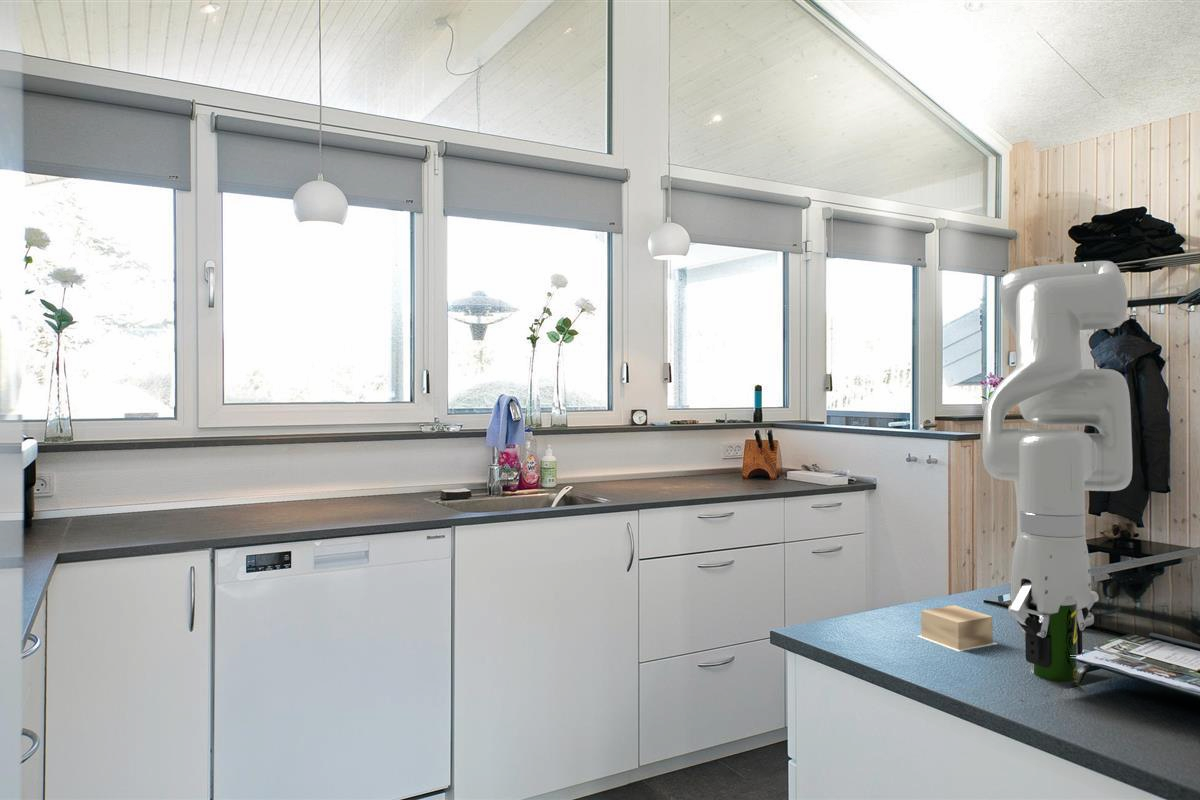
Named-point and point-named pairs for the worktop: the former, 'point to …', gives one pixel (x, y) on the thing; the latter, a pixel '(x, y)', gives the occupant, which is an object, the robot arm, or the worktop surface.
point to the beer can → (1061, 644)
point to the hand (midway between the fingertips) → (1054, 659)
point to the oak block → (957, 627)
